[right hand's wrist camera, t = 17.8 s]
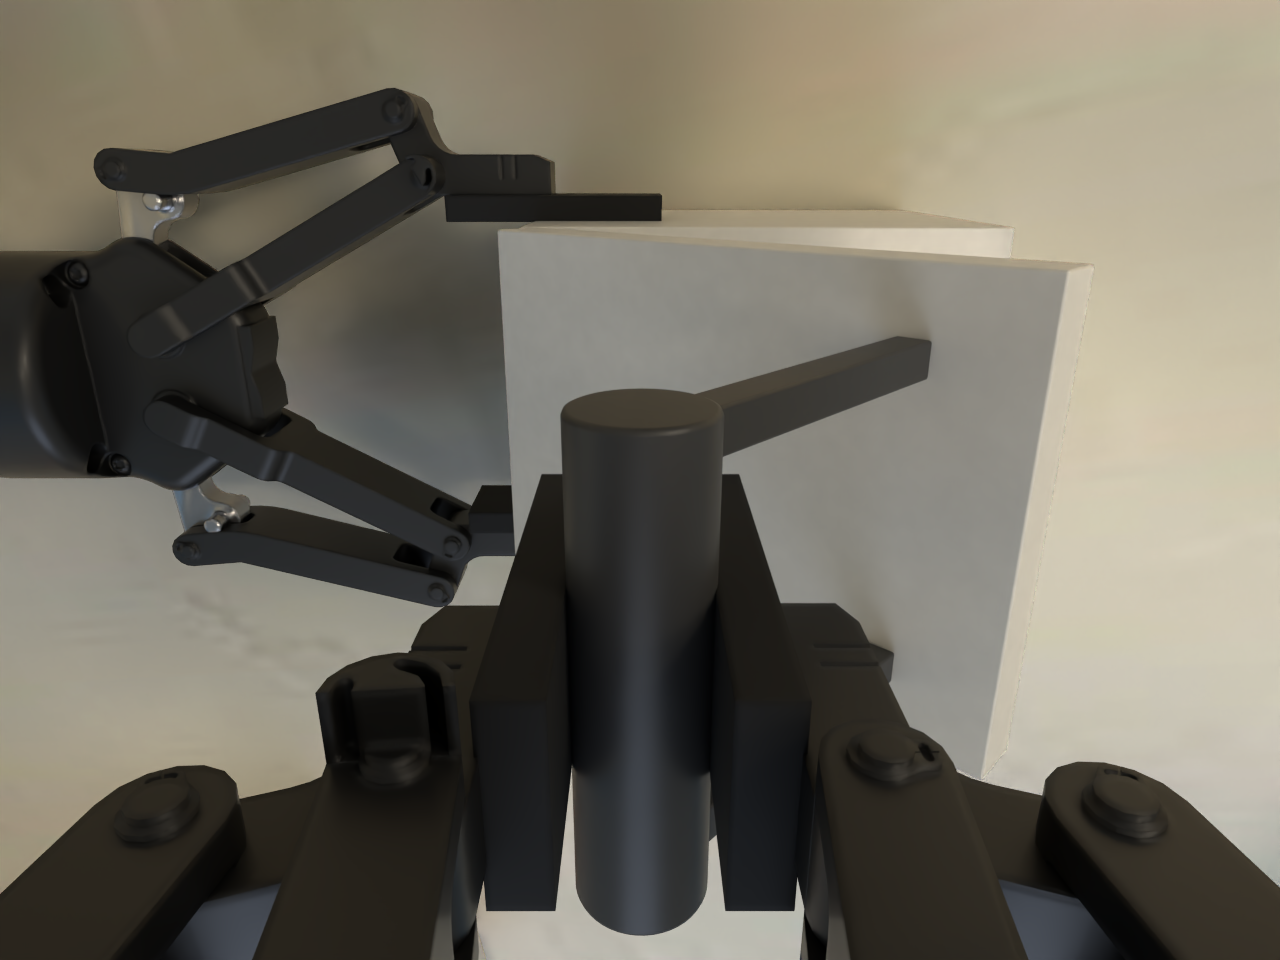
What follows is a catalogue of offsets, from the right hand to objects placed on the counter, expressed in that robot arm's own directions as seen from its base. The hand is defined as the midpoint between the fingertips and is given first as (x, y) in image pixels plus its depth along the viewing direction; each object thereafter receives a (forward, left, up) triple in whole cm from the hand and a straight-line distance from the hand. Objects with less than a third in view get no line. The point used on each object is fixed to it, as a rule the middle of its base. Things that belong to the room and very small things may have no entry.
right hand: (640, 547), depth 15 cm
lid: (-1, +2, -5) cm, 6 cm away
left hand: (0, +1, -14) cm, 14 cm away
